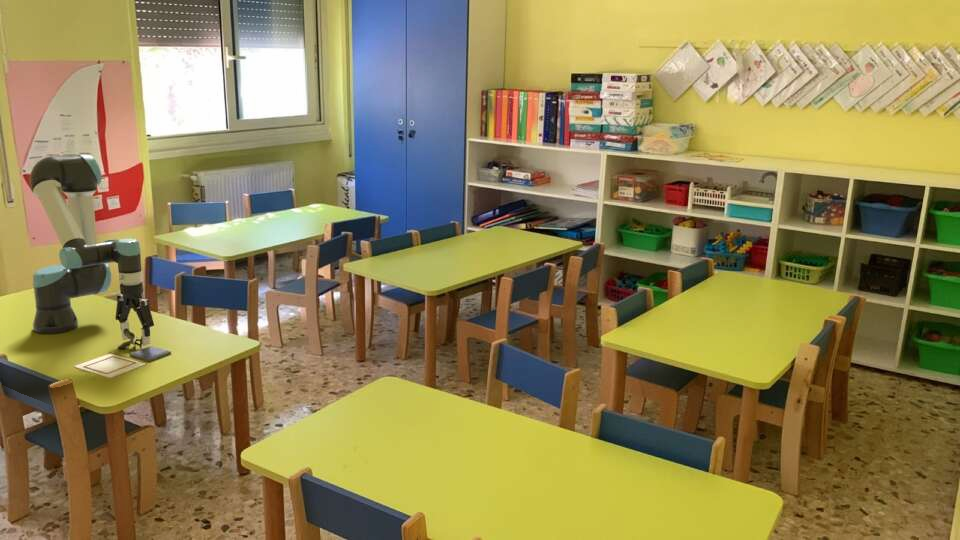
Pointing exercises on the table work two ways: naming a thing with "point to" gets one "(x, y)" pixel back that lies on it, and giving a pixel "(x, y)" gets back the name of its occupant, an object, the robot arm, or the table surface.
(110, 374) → the print sheet
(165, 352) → the ink pad
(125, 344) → the eagle figurine
